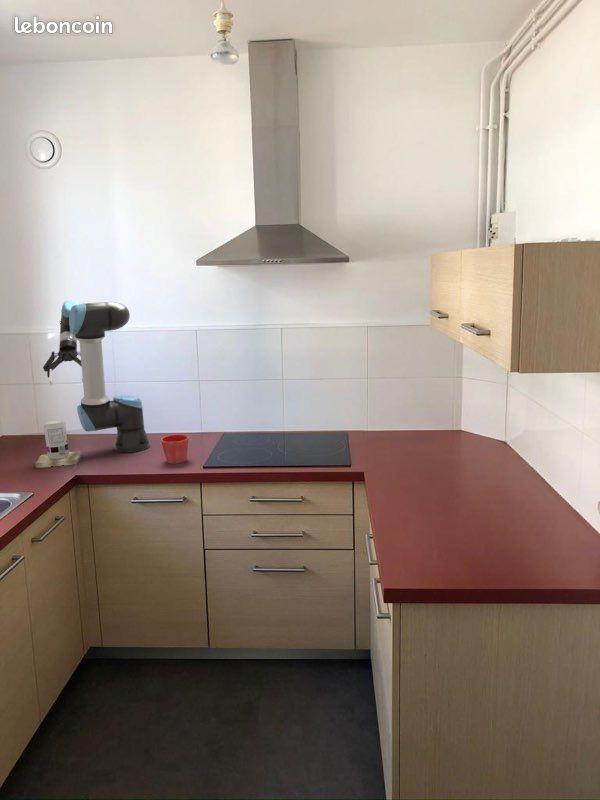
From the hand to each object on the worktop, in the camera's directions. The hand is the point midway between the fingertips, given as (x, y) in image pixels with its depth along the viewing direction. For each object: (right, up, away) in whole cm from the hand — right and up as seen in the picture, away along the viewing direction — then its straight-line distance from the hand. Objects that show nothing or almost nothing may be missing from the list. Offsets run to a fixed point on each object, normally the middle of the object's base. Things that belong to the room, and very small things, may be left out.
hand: (66, 381), depth 274 cm
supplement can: (+3, -32, -16) cm, 36 cm away
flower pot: (+53, -33, -21) cm, 66 cm away
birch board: (+3, -34, -16) cm, 37 cm away
